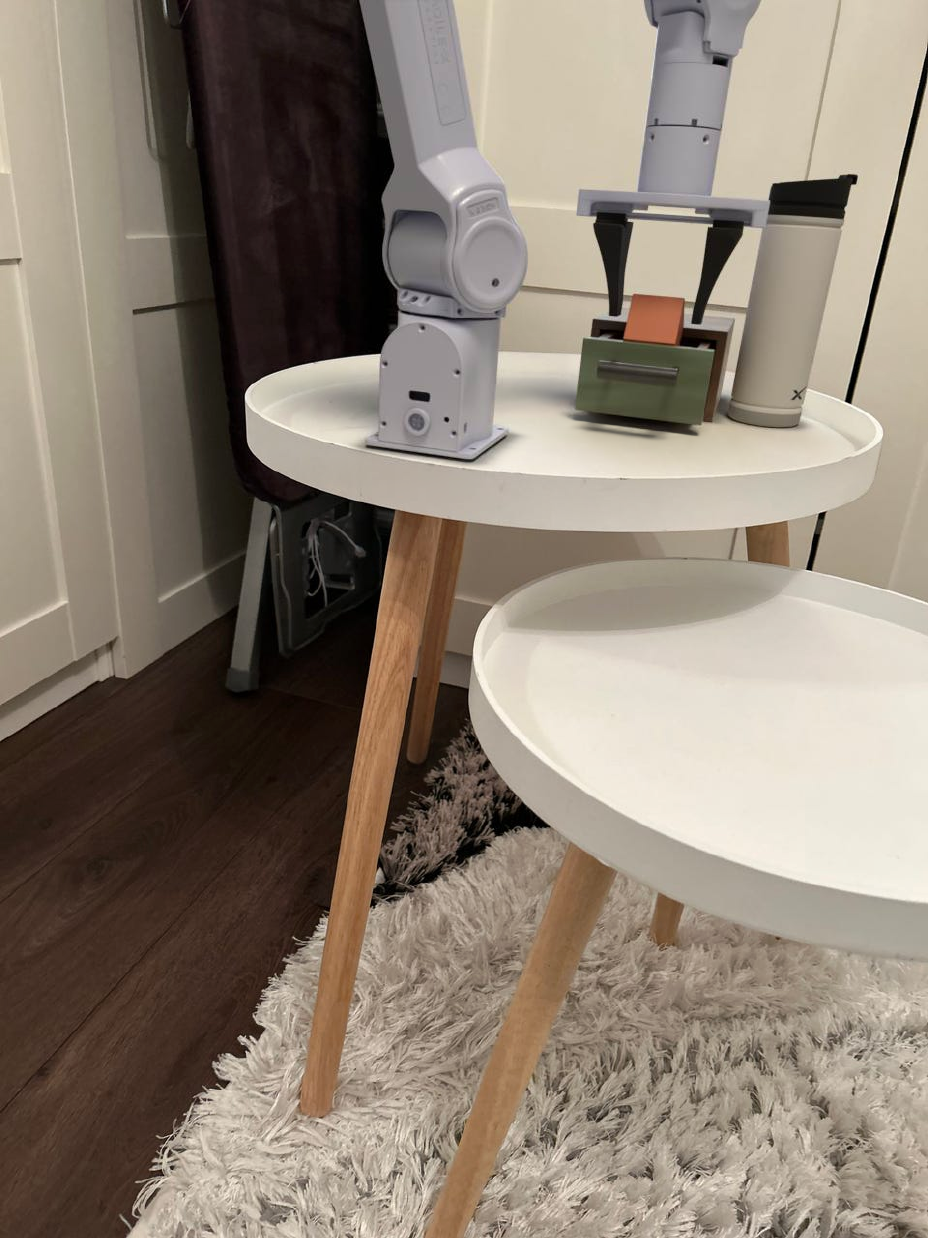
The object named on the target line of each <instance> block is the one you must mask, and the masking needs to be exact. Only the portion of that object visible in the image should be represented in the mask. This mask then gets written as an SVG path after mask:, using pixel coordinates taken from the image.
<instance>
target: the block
mask: <svg viewBox="0 0 928 1238" xmlns="http://www.w3.org/2000/svg"><path fill="white" fill-rule="evenodd" d="M685 302H686V298H685V297H677V296H665V295H655V294H643V293H633V294H632V297H631V301H630V306H629V309H630V310H629V315H628V319H627V324H626V328H625V332H624V337H623V340H625V341H634V342H644V343H654V344H664V345H674V346H680V341H681V337H682V332H683V327H684V314H685V305H686V303H685Z"/></svg>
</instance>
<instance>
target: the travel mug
mask: <svg viewBox="0 0 928 1238" xmlns="http://www.w3.org/2000/svg"><path fill="white" fill-rule="evenodd" d="M858 179H859V176H858V174H856V173H854V174H853V173H847V174H840V175H839V176H838V177H837V178H823V179H809V180H795V181H794V180H793V181H782V182H773V183H772V184H771V186H770V190H769V194H768V199H767V200H770V207H769V212H768V217H767V223H766V228H761V233H760V237H759V238H760V239H759V244H758V250H757V255H756V260H755V265H754V272H753V277H752V280H751V281H752V282H751V285H750V293H749V297H748V303H747V309H746V313H745V319H744V324H743V330H742V336H741V340H740V346H739V351H738V357H737V361H736V367H735V373H734V377H733V383H732V390H731V394H730V395H731V398H730V399H729V404H728V410H727V416H728V417H729V418H730V419H732V420H733V421H736V422H740V423H742V424H748V425H754V426H758V427H768V428H791V427H796V426H798V424H799V423H800V422H801V417H802V413H803V406H802V405H804V403H805V399H806V395H807V390H808V385H809V382H810V377H811V374H812V368H813V364H814V359H815V356H816V355H815V354H816V349H817V345H818V340H819V337H820V331H821V326H822V324H823V323H822V322H823V319H824V313H825V309H826V305H827V300H828V296H829V292H830V288H831V287H830V286H831V282H832V277H833V273H834V268H835V264H836V259H837V255H838V252H839V251H838V250H839V246H840V242H841V238H842V232H843V229H842V227H843V226H844V225H845V224H844V223H845V216H846V207H847V206H848V202H849V197H850V193H851V189H852V186H856V185H857V183H858Z"/></svg>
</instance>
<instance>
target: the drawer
mask: <svg viewBox="0 0 928 1238" xmlns="http://www.w3.org/2000/svg"><path fill="white" fill-rule="evenodd" d="M624 332H625V331H617V330H611V331H609V332H607V333H606V334H604V335H602V336H600V337H599V338H595V337H591V336H585V337H584V336H583V338H582V345H581V352H580V361H579V370H578V379H577V388H576V396H575V405H574V410H575V411H583V412H588V413H589V412H590V413H597V414H607V415H613V416H614V415H615V416H622V417H631V418H637V419H646V420H654V421H663V422H669V423H670V422H671V423H678V424H687V425H695V426H702V424H703V422H704V421H703V415H704V409H705V404H706V398H707V392H708V387H709V381H710V375H711V369H712V364H713V358H714V352H715V350H713V349H712V348H713V342H714V340H707V339H697V338H687V337H681V341H680V346H674V345H664V344H654V343H644V342H634V341H625V340H623V337H624Z"/></svg>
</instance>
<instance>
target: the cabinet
mask: <svg viewBox="0 0 928 1238" xmlns="http://www.w3.org/2000/svg"><path fill="white" fill-rule="evenodd" d="M629 310H630V308H628V307H622V311H621V315H619V316H617V317H614V316H609V311H607V312H604V313H603V314H600V315H597V316H596V317H594V318H592V320H591V321H592V322H591V329H590V337H595V338H599V337H600V336H602V335H604V334H606V333H607V332H609V331H611V330H617V331H625V328H626V324H627V319H628V315H629ZM692 314H693V313H684V327H683V332H682V337H687V338H697V339H707V340H714V342H713V348H712V349H713V350H715V352H714V358H713V364H712V369H711V375H710V381H709V387H708V392H707V398H706V404H705V409H704V415H703V421H702V422H710V423H713V421H714V417H715V415H716V412H717V409H718V406H719V403H720V400H721V398H722V394H723V387H724V383H725V377H726V371H727V365H728V359H729V355H730V350H731V349H730V348H731V344H732V338H733V332H734V329H735V328H734V327H735V322H736V318H734V317H724V316H713V315H705V314H704V315H703V319H702V323H701V324H700V325H697V324H691V321H692Z"/></svg>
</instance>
